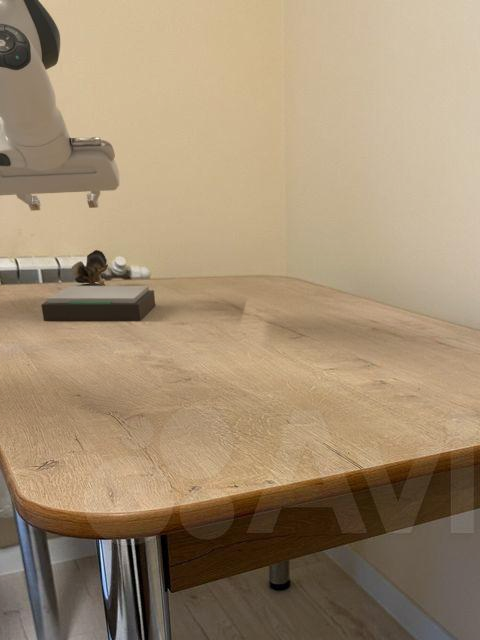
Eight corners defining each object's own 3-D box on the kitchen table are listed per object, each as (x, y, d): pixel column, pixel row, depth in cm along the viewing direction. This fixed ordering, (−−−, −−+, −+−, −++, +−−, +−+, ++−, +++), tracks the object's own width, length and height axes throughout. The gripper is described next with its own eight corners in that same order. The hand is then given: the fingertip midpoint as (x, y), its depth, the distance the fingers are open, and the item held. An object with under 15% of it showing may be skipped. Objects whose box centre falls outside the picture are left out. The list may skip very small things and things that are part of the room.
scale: (43, 320, 105) (40, 298, 104) (69, 304, 118) (66, 285, 116) (140, 320, 106) (137, 298, 105) (155, 304, 119) (153, 285, 118)
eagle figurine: (122, 282, 135) (116, 267, 141) (96, 251, 130) (92, 237, 137) (89, 305, 135) (85, 289, 141) (62, 274, 130) (60, 260, 137)
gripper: (109, 122, 110) (127, 188, 123) (-31, 126, 107) (3, 194, 120) (110, 153, 108) (128, 217, 121) (-32, 158, 105) (2, 224, 117)
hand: (65, 206), depth 120 cm, fingers open, 8 cm apart
